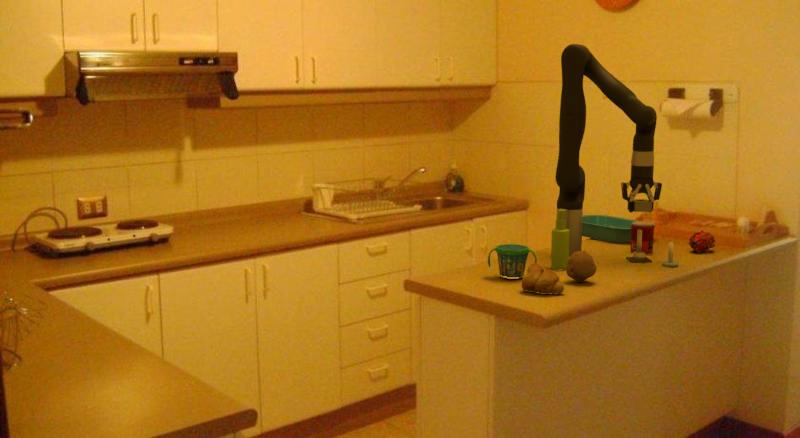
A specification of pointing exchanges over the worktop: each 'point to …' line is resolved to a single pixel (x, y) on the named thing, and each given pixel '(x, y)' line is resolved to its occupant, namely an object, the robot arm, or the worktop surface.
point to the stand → (639, 252)
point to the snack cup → (512, 259)
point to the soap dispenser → (560, 243)
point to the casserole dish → (607, 228)
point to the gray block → (642, 205)
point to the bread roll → (541, 280)
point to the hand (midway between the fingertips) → (640, 212)
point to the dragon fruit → (702, 241)
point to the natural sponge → (580, 266)
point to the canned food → (646, 236)
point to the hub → (670, 257)
